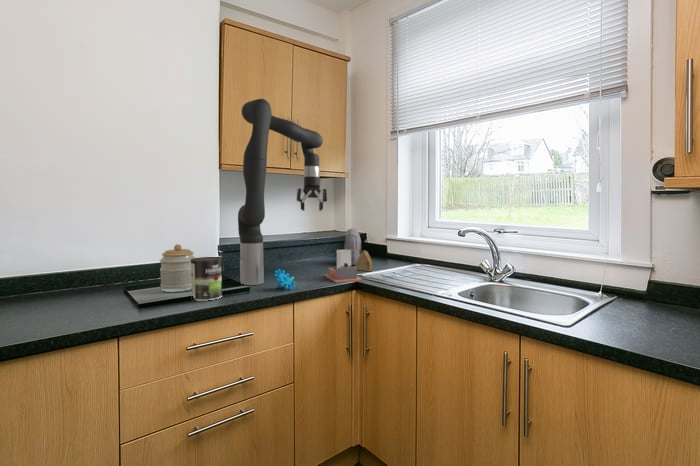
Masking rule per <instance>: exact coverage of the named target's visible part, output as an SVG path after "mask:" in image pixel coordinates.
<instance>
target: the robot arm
mask: <svg viewBox="0 0 700 466" xmlns="http://www.w3.org/2000/svg"><path fill="white" fill-rule="evenodd" d="M241 115H242V118H243V119H244V121H246V122H247V123H248V124H251V125H252V130H251V135H250V138H249V141H248V143H247V145H246V147H245V150H244V154H243V162H242V163H243V164H242V173H243V180H244V184H245V201H244V204H242V206H241V207H240V208H239V210H238V212H237V225H238V226H237V229H238V236H239V247H240V259H239V267H240V268H239V275H240V276H239V277H240V279H239V281H240V284H241V285H242V284H244V285H243V286H258V285H262V284H264V282H265V279H264V276H265V275H264V274H265V273H264V272H265V271H264V236H263V234H262V232H261V224H262V223H263V222H264V220H265V217H266V215H265V214H266V209H265V208H266V207H265V187H266V174H267V164H268V163H267V162H268V159H267V158H268V145H269V133H270V131H272V132H275V133H278V134H280V135H282V136H284V137H286V138H288V139H290V140H292V141H293V142H297V143H300V147H301V150H302V154H303V165H304V168H303V188H300V187H299V188H297V189H296V201H297V202H299V203H300V210H301V211H303V212H304V211H305V201H306V200H307V199H310V198H311V199H312V198H313V199H314V198H315V199H317V200H318V210H319V211H320V212H321V211H323V209H324V203H325V202H327V201H328V197H327V196H328V194H327V188H321V183H320V182H321V177H320V176H321V173H320V172H321V171H320V156H319V154H317V153H315V151H314V149H318V148H320V147H322V145H323V137H322V135H321V134H320V133H318V132H317V131H315V130H311V129H308V128H305V127H302V126H301V125H299V124H297V123H295V122H293V121H290V120H287V119H285V118H281V117H278V116H275V115H272V108H271V105H270V103H269V102H268V101H267V99H264V98H258V99H254V100H250V101H247V102H246V103H244V104H243V106H242V108H241ZM302 193H304V195H303V196H302V198H301V195H302ZM320 193H321V194H322V196H321V195H320Z"/></svg>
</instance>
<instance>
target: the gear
mask: <svg viewBox="0 0 700 466" xmlns="http://www.w3.org/2000/svg"><path fill="white" fill-rule="evenodd" d="M273 277H274V278H276V279H275V281H276V283H278V284H277V286H275V288H276V289H277V288H278V289H279V288H280V287H283V286H284V290H288V289H289V291H292V290H293V289H295V288H296V282H295V281H294V279H295V277H294V275H293V276H291V277H290V274H289V272H287V273H286V271H285V270H284V269H283V270H281V269H279V268H278V269H277V270H274V275H273Z"/></svg>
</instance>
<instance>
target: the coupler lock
mask: <svg viewBox="0 0 700 466" xmlns="http://www.w3.org/2000/svg"><path fill="white" fill-rule="evenodd" d="M346 267H352V265H351V251H350V250H344V249H336V271H338V268H346Z"/></svg>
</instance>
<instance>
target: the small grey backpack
mask: <svg viewBox="0 0 700 466" xmlns="http://www.w3.org/2000/svg"><path fill="white" fill-rule="evenodd" d="M343 250H350V251H351V266H355V264H356V262H357V260H358V258H359V256H360V255H361V253H362V252H363V250H362V239H361V236H360V233H359V232H358V230H357V229H356V228H353V227H352V228H349V229H347V230H346V231H345V238H344V249H343Z"/></svg>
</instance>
